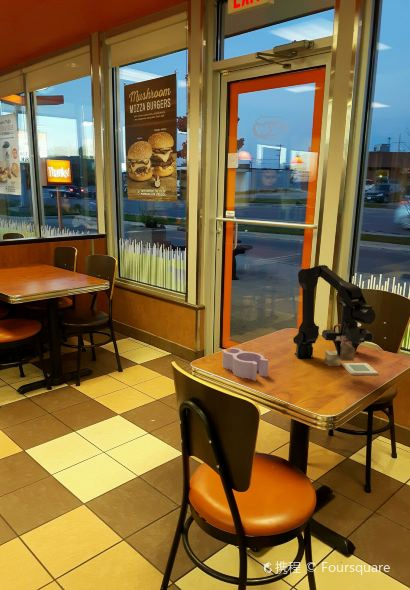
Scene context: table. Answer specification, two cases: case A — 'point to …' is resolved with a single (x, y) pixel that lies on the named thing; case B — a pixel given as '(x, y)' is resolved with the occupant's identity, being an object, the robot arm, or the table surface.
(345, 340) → the mug
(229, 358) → the clip
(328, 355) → the maple cube
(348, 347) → the walnut cube
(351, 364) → the plate
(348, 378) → the table surface
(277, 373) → the table surface
